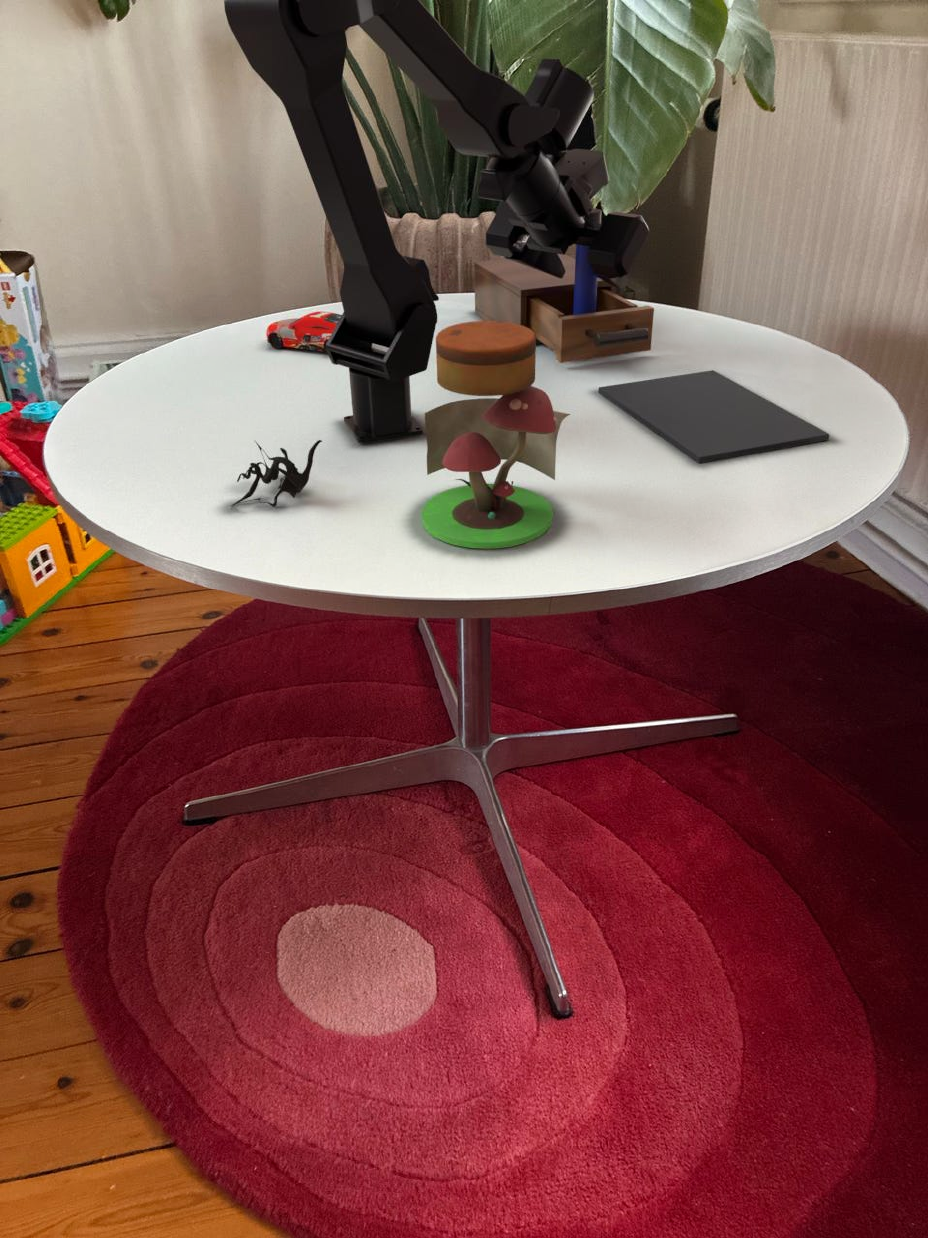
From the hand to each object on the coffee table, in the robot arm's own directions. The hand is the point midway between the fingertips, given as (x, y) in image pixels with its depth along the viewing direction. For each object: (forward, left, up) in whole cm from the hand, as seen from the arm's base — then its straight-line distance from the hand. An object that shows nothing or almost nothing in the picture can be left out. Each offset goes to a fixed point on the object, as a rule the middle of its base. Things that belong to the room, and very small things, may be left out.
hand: (592, 280), depth 112 cm
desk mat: (-25, -1, -8) cm, 26 cm away
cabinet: (+11, +1, -8) cm, 14 cm away
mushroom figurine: (-38, +27, -8) cm, 47 cm away
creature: (-27, +43, -8) cm, 51 cm away
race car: (+13, +30, -8) cm, 34 cm away
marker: (-1, +1, -6) cm, 6 cm away
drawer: (-1, +1, -7) cm, 7 cm away
